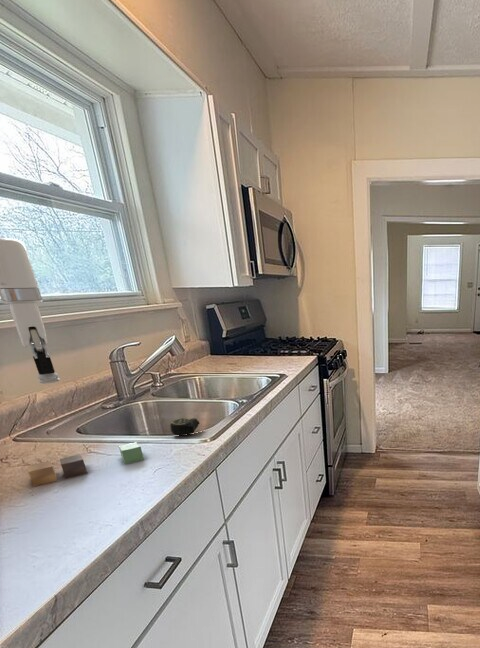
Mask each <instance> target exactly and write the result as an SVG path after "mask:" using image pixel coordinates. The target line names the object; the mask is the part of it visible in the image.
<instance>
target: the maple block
mask: <svg viewBox="0 0 480 648" xmlns="http://www.w3.org/2000/svg"><path fill="white" fill-rule="evenodd" d="M27 472H28V475H29V478H30V480H31V483H32V486H33V487H37V486H40V485H45V484H50V483H53V482H57V481H58V477H57V473H56V469H55V468H54V465H53V462H52V460H48V461H43V462H39V463H34V464H29V465H28V466H27Z"/></svg>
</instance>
